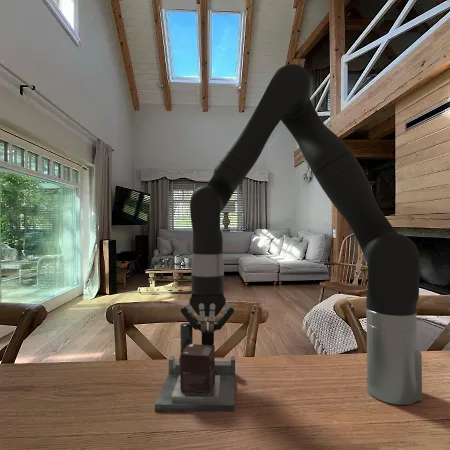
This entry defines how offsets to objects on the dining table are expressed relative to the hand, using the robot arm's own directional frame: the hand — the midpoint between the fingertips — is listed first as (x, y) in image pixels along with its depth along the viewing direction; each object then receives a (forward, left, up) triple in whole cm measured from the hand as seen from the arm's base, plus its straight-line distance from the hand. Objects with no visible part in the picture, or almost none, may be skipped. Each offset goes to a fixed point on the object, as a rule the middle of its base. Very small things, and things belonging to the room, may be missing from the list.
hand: (207, 347), depth 75 cm
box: (+1, +9, -5) cm, 10 cm away
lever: (+5, 0, -3) cm, 6 cm away
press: (+1, +7, -7) cm, 9 cm away
